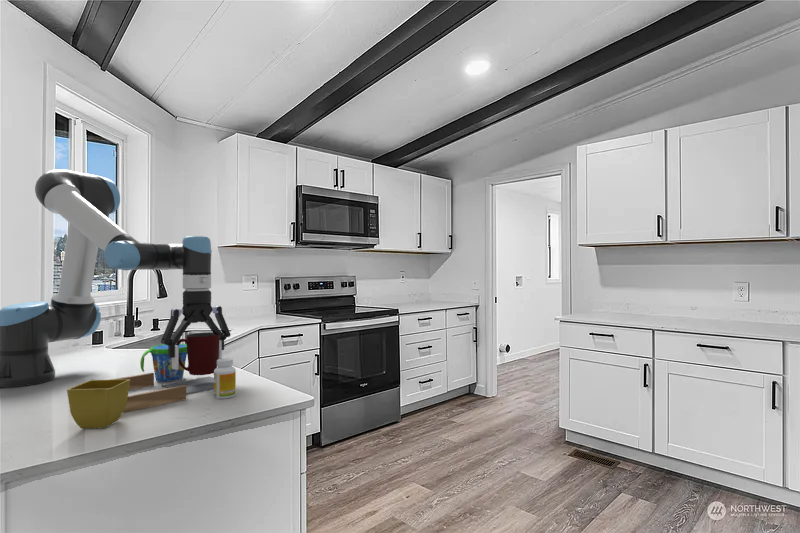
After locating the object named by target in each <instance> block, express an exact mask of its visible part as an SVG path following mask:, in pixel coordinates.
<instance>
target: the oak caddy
mask: <svg viewBox="0 0 800 533" xmlns="http://www.w3.org/2000/svg"><path fill="white" fill-rule="evenodd" d="M118 379H130V385H129V391H130V390H136V389H141V388H146V387H152V386H153V387H154V385H155V373H154V372H148V373H141V374H136V375H128V376H124V377H117V378H112V379H109V380H118ZM185 400H187V395H186V385H182V386H177V387H171V388H161V389H156V390H151V391H146V392H141V393H135V394H131V395H129V394H128V399H127V403H126V406H125V409H124V411H123V413H129V412H133V411H138V410H142V409H148V408H151V407H157V406H161V405H166V404H172V403H176V402H180V401H185ZM123 413H122V414H123Z"/></svg>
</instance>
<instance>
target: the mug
mask: <svg viewBox="0 0 800 533" xmlns="http://www.w3.org/2000/svg"><path fill="white" fill-rule="evenodd" d="M182 343H185V344H187V356H186V357H187V367H186V365H185V366H184V365H183V363H182V362H181V359H180V356H179V364H180V365H181V367H182V368H183V369H184V371H186V372H188V373H189V375H191V376H206V375H212V374H213V375H214V370H215V369H216V368H218V366H217V360H218V352H219V334H218V335H215V334H214V333H213V332H193V333H189V334H187V335H186V336H185V338H180V339H179V340H178V342H177V343H176V345H177V346H178V350H179V344H182Z"/></svg>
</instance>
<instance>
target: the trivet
mask: <svg viewBox="0 0 800 533" xmlns="http://www.w3.org/2000/svg"><path fill="white" fill-rule="evenodd" d="M182 385H186V396H187V395H192V394H197V393H202V392H206V391H207V392H208V391H211V390H214V376H210V375H209V376H205V377H198V378H194V379H188V380H182V381H177V382H171V383H166V384H161V387H162V388H163V389H166V388H171V387H177V386H182Z"/></svg>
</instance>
